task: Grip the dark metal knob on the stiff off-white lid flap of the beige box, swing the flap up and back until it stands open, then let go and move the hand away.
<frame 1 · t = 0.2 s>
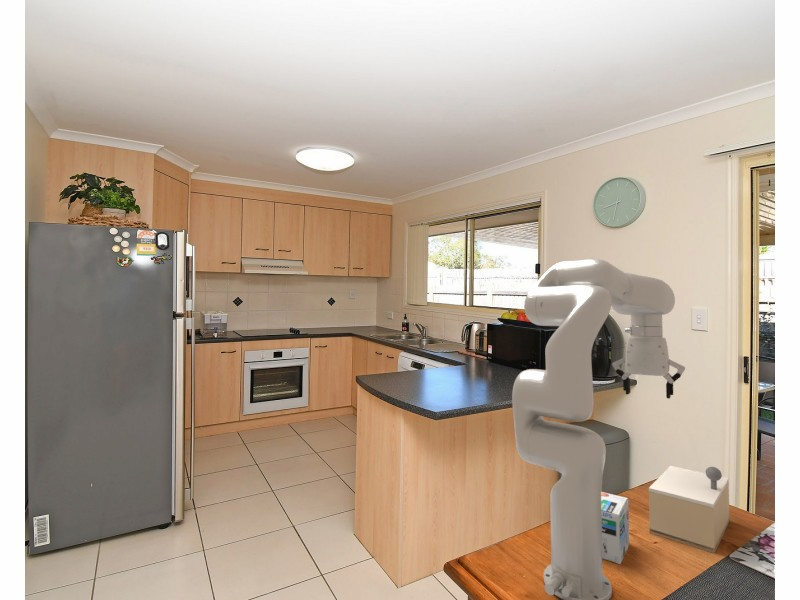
hand: (647, 395, 119), 31 cm above the table, tool pointing down, fingers open, 9 cm apart
beige box: (690, 526, 109), on the table
light bulb box: (609, 550, 100), on the table
flap: (689, 474, 109), point 13 cm above the table, hinge at 0.0°
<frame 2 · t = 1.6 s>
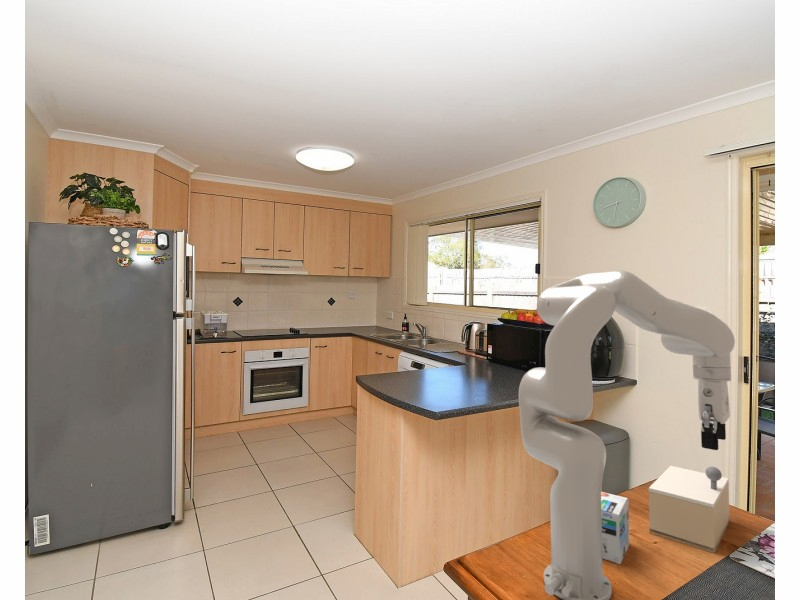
hand: (714, 443, 106), 22 cm above the table, tool pointing down, fingers open, 9 cm apart
nothing on the table moved.
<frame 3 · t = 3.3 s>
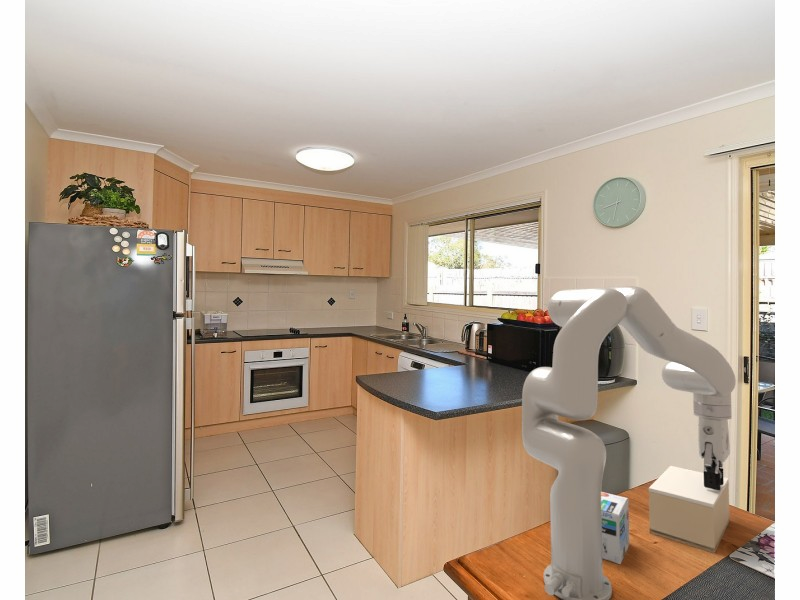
hand: (713, 485, 106), 12 cm above the table, tool pointing down, fingers closed on flap, 3 cm apart
flap: (689, 474, 109), point 13 cm above the table, hinge at 0.0°, touching gripper
everything else where it was.
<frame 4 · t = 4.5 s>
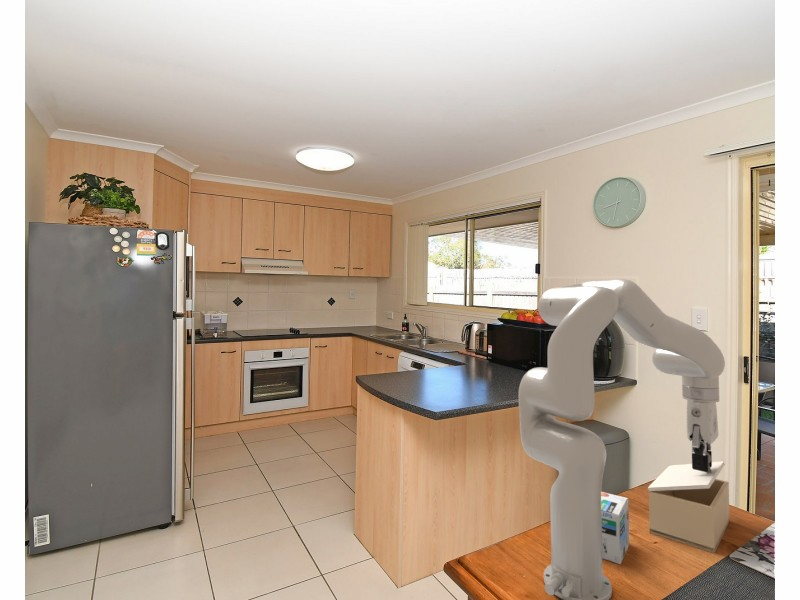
hand: (702, 467, 107), 15 cm above the table, tool pointing down, fingers closed on flap, 3 cm apart
flap: (683, 465, 110), point 15 cm above the table, hinge at 18.7°, touching gripper
everything else where it was.
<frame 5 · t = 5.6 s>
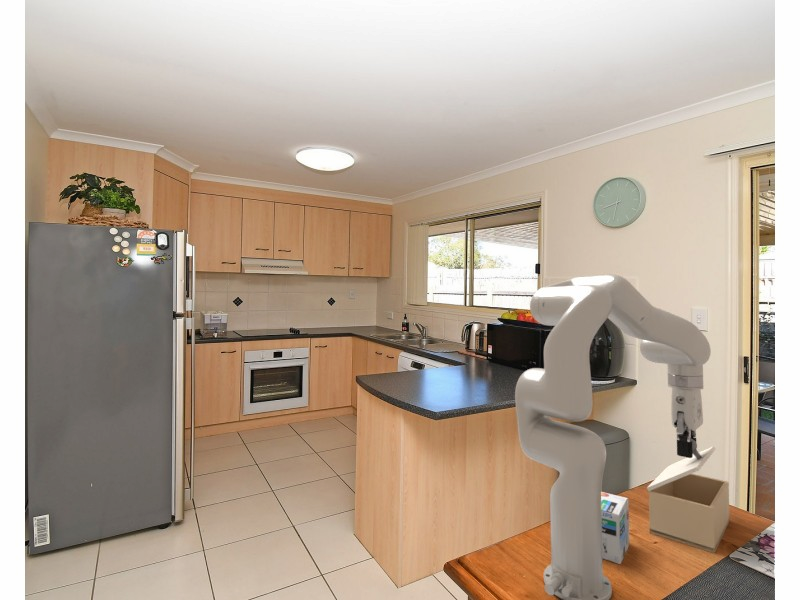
hand: (686, 453, 110), 18 cm above the table, tool pointing down, fingers closed on flap, 3 cm apart
flap: (675, 458, 112), point 16 cm above the table, hinge at 36.5°, touching gripper
everything else where it was.
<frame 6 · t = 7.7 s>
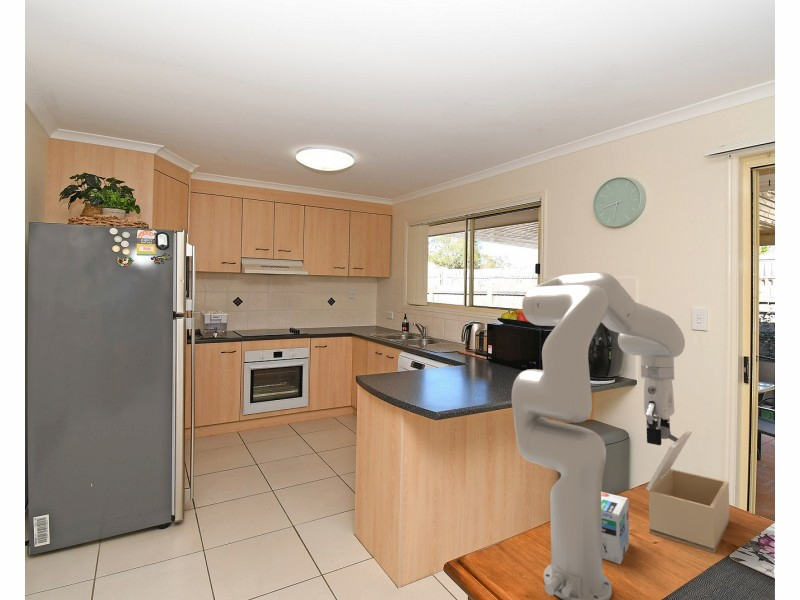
hand: (658, 439, 114), 20 cm above the table, tool pointing down, fingers open, 7 cm apart
flap: (660, 451, 114), point 17 cm above the table, hinge at 64.5°
everything else where it was.
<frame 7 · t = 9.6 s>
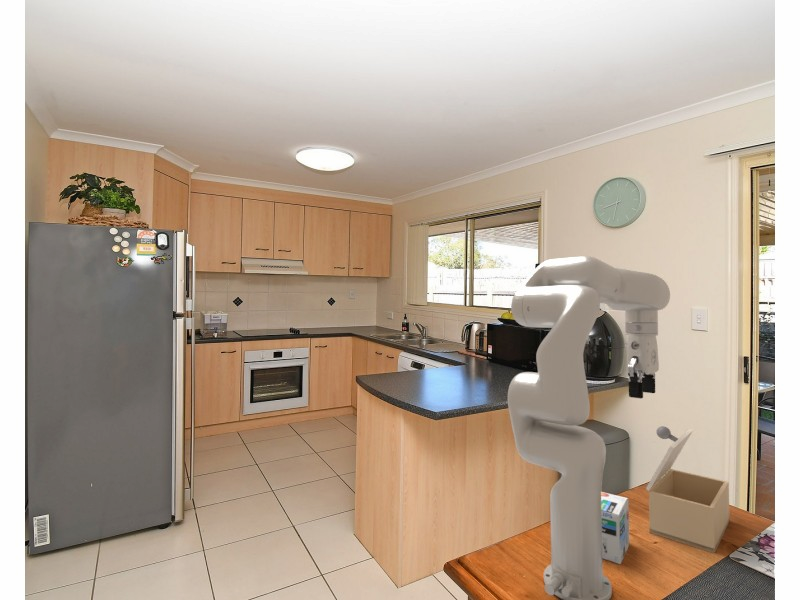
hand: (642, 395, 114), 32 cm above the table, tool pointing down, fingers open, 9 cm apart
nothing on the table moved.
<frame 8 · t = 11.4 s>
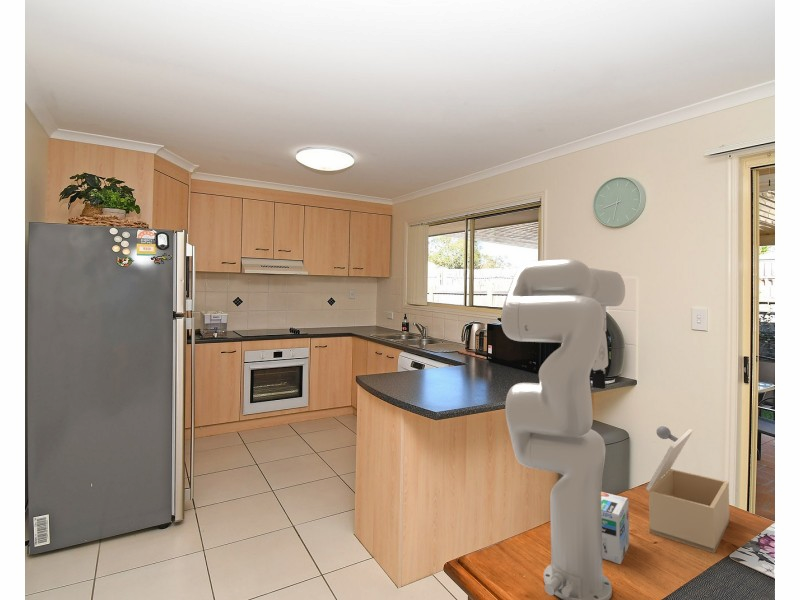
hand: (591, 390, 114), 33 cm above the table, tool pointing down, fingers open, 9 cm apart
nothing on the table moved.
at the end: flap at +64° (first picture: +0°); the gripper is holding nothing; light bulb box moved 0.3 cm from its start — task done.
